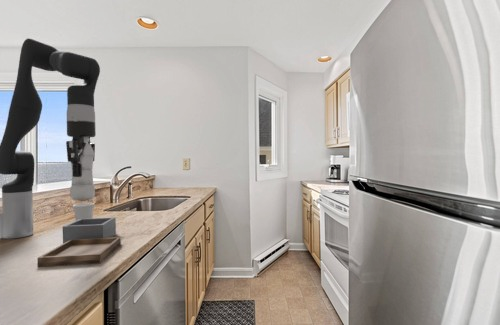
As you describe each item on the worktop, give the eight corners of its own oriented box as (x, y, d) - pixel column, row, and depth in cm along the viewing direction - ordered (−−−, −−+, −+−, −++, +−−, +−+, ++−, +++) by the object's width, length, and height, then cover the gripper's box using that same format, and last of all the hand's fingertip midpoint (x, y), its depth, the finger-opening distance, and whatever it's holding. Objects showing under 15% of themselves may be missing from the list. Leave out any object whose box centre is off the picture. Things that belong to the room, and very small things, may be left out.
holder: (62, 245, 97) (62, 226, 97) (80, 235, 110) (80, 218, 110) (103, 243, 99) (102, 224, 99) (115, 234, 112) (115, 217, 112)
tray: (37, 267, 77) (37, 257, 77) (70, 247, 95) (70, 239, 95) (100, 263, 79) (100, 254, 79) (120, 244, 97) (120, 237, 97)
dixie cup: (98, 225, 127) (98, 203, 127) (79, 229, 120) (78, 206, 120) (88, 223, 131) (88, 202, 131) (69, 227, 124) (68, 204, 124)
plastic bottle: (100, 199, 89) (99, 135, 89) (79, 202, 83) (78, 133, 83) (86, 198, 92) (85, 136, 92) (64, 201, 86) (64, 135, 86)
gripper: (79, 124, 94) (79, 175, 94) (55, 117, 79) (56, 177, 80) (103, 124, 95) (104, 174, 95) (83, 117, 80) (85, 177, 81)
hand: (82, 175), depth 87 cm, fingers closed on plastic bottle, 6 cm apart
